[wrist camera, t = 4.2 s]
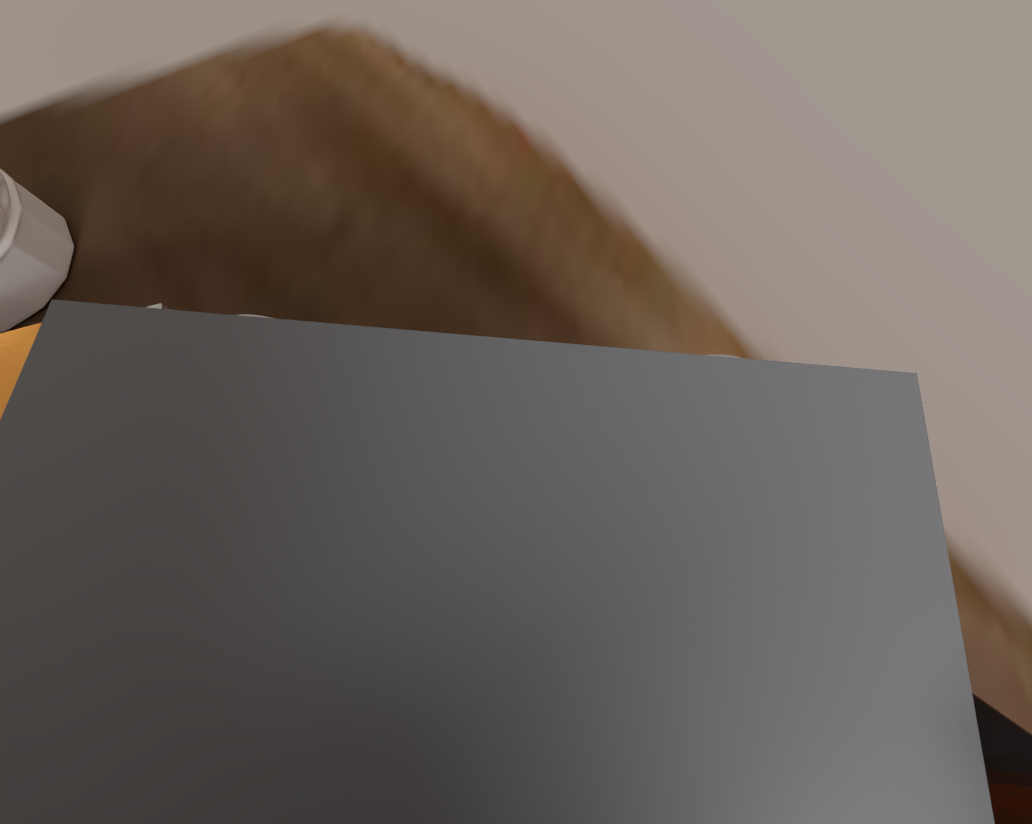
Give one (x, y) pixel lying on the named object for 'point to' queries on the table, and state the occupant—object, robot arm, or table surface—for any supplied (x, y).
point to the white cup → (29, 253)
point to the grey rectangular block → (468, 583)
